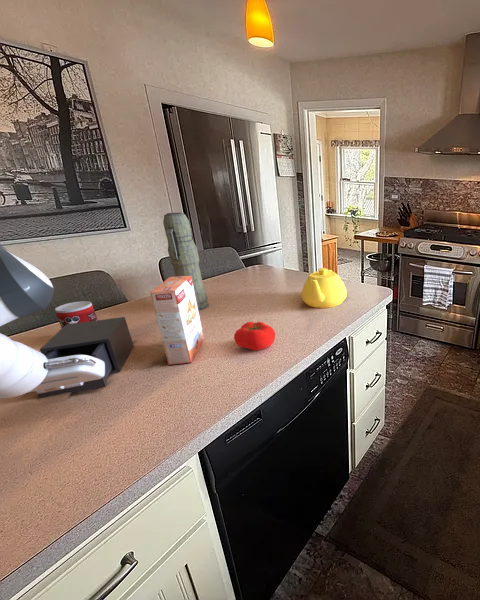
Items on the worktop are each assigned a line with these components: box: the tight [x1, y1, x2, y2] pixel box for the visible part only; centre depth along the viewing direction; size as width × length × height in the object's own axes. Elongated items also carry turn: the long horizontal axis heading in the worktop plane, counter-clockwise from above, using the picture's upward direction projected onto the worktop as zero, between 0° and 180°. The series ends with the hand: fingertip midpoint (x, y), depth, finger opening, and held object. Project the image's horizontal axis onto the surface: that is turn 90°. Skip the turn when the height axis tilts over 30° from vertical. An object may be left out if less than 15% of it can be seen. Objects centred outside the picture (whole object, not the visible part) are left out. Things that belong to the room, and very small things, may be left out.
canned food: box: [54, 300, 98, 329], centre depth 98 cm, size 8×8×11 cm
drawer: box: [35, 342, 114, 399], centre depth 76 cm, size 18×11×8 cm, turn 26°
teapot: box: [301, 267, 348, 309], centre depth 129 cm, size 25×18×14 cm
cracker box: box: [149, 276, 205, 366], centre depth 90 cm, size 14×6×21 cm, turn 17°
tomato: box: [233, 321, 276, 351], centre depth 96 cm, size 10×11×6 cm
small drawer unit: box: [39, 316, 135, 375], centre depth 85 cm, size 15×13×10 cm
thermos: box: [162, 212, 209, 311], centre depth 118 cm, size 9×12×35 cm
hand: (55, 386), depth 68 cm, fingers closed
